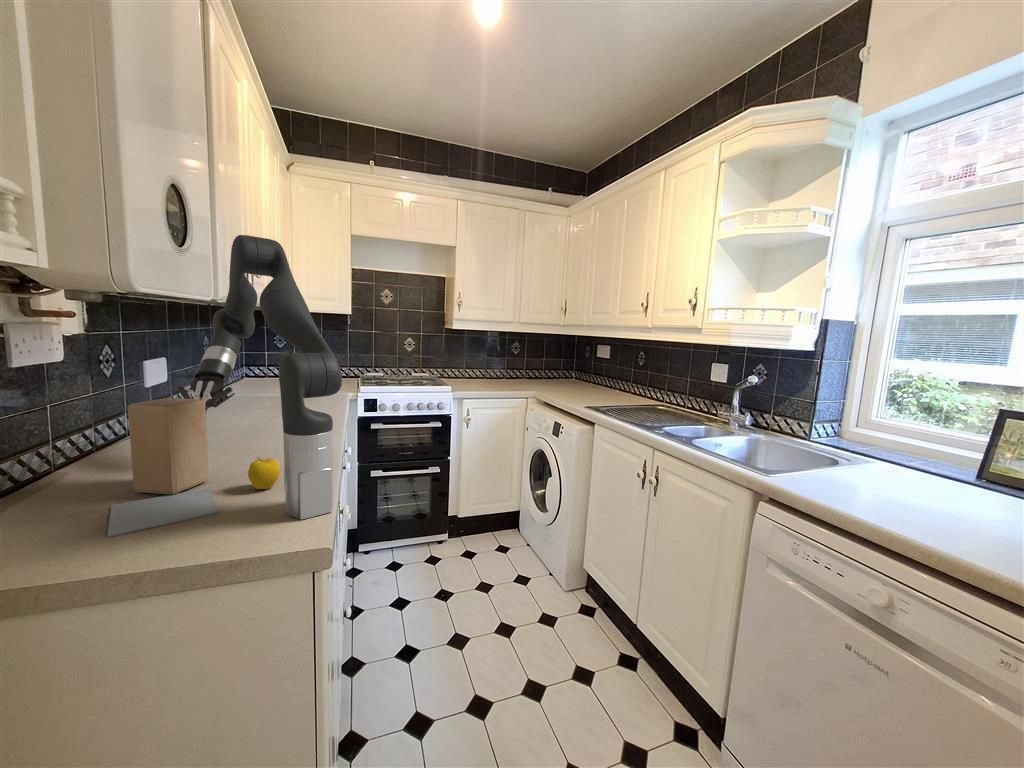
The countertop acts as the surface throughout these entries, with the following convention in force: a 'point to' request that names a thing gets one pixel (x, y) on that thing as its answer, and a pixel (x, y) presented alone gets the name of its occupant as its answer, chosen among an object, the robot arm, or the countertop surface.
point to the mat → (160, 511)
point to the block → (168, 445)
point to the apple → (264, 473)
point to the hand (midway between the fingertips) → (195, 419)
